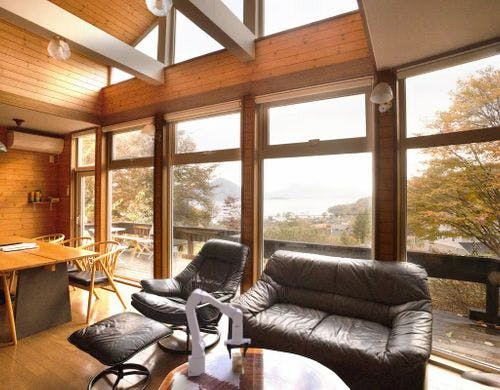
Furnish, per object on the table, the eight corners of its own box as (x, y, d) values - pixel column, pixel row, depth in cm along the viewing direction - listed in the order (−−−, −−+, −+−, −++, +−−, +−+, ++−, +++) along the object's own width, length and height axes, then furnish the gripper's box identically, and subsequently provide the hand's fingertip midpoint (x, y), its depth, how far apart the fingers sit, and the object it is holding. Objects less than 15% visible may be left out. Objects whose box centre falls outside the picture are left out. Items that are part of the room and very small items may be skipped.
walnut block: (233, 373, 162) (233, 365, 162) (232, 368, 167) (232, 361, 167) (242, 372, 163) (242, 364, 163) (240, 367, 167) (241, 360, 168)
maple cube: (233, 365, 162) (233, 356, 162) (232, 361, 167) (232, 353, 167) (241, 364, 163) (241, 356, 163) (240, 360, 167) (240, 352, 168)
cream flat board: (229, 375, 160) (229, 374, 160) (228, 367, 169) (228, 366, 169) (249, 373, 162) (249, 372, 162) (247, 365, 171) (247, 364, 171)
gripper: (225, 336, 160) (224, 362, 160) (251, 334, 163) (251, 359, 162) (223, 331, 167) (223, 355, 167) (249, 329, 170) (249, 353, 169)
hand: (237, 357), depth 165 cm, fingers open, 7 cm apart
